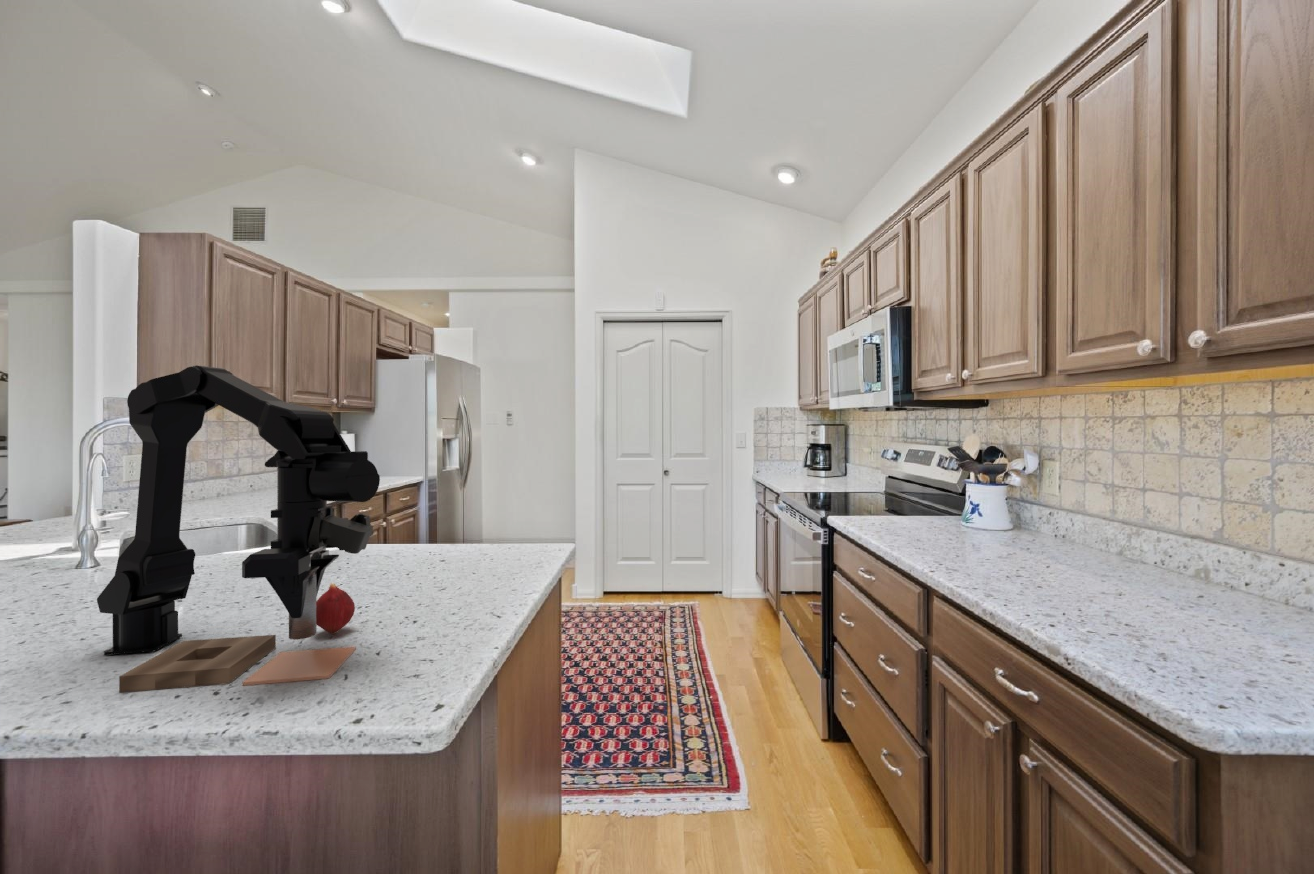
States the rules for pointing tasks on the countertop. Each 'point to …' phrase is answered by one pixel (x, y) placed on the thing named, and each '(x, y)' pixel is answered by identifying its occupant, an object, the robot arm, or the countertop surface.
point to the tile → (301, 666)
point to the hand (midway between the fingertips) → (302, 613)
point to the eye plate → (198, 663)
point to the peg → (305, 614)
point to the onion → (334, 609)
